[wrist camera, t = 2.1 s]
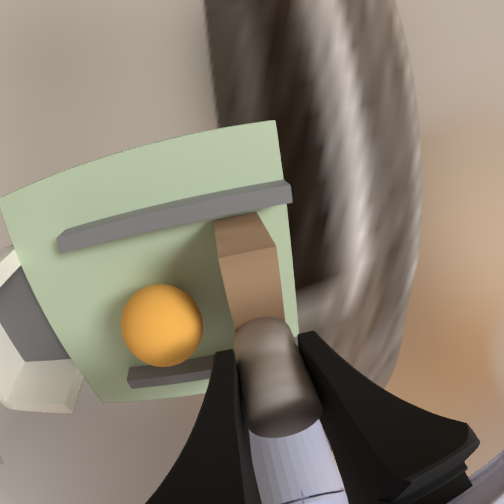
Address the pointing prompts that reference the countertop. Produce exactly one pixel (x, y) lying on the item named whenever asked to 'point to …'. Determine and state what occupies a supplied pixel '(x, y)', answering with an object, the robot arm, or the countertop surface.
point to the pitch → (130, 263)
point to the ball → (161, 325)
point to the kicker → (263, 331)
